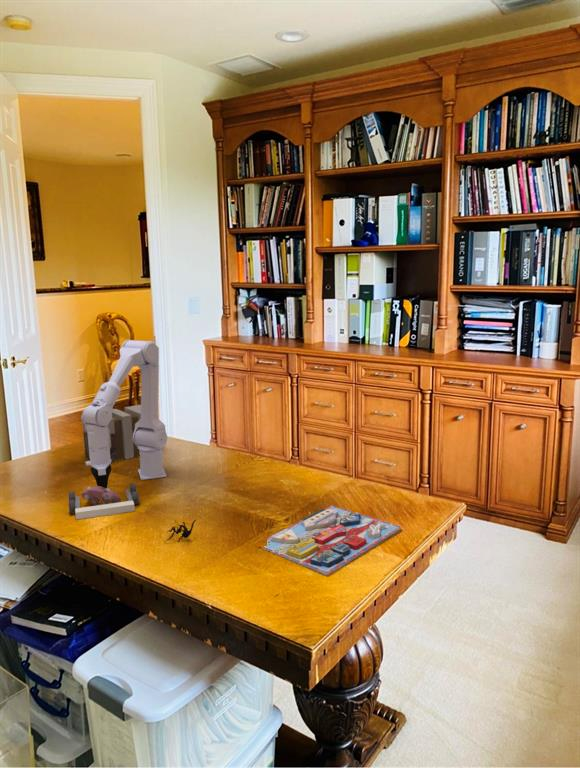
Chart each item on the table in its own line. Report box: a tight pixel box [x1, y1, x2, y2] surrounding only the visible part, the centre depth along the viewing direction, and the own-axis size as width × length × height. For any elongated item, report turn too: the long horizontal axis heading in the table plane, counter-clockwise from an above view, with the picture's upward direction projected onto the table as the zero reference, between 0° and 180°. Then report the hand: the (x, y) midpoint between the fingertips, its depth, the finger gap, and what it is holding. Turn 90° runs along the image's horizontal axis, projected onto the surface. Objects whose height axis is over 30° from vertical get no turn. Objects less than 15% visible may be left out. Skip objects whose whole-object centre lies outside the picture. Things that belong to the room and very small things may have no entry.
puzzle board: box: [262, 505, 402, 577], centre depth 151 cm, size 30×23×3 cm
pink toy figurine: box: [81, 485, 121, 505], centre depth 174 cm, size 10×5×7 cm, turn 77°
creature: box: [164, 518, 197, 543], centre depth 152 cm, size 8×5×8 cm
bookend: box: [81, 404, 141, 463], centre depth 217 cm, size 16×25×16 cm, turn 130°
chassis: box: [68, 483, 140, 521], centre depth 173 cm, size 14×19×4 cm
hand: (102, 490), depth 178 cm, fingers closed
